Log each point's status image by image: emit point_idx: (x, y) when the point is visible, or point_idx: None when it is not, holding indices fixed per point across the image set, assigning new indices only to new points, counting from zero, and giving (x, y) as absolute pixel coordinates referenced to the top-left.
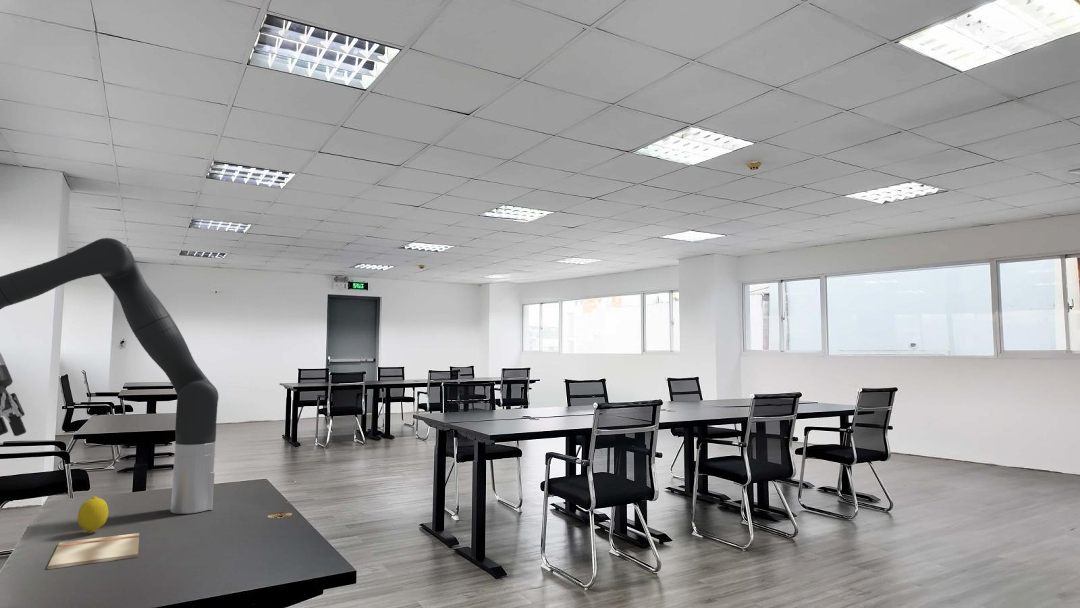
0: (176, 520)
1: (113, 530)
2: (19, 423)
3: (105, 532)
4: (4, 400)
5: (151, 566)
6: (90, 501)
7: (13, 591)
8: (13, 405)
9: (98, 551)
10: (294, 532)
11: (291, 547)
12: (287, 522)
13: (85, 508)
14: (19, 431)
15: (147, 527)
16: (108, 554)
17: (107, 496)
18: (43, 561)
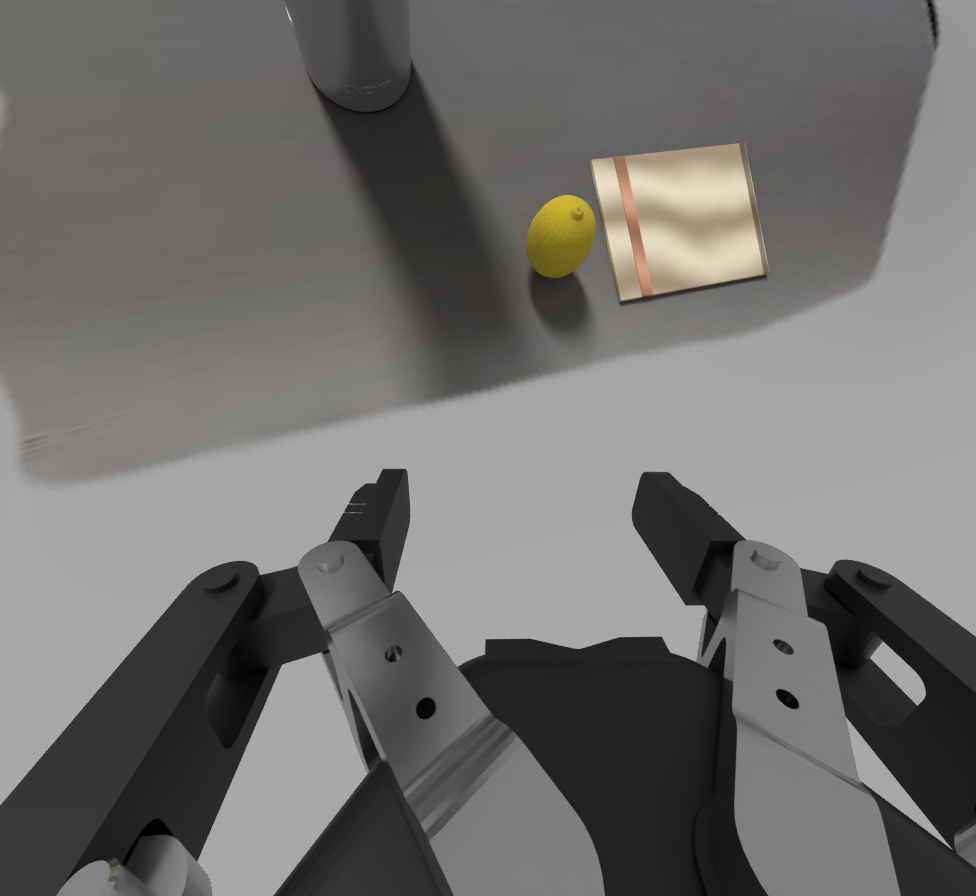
0: (474, 95)
1: None
2: (393, 520)
3: None
4: (737, 708)
5: (794, 119)
6: (589, 222)
7: (846, 288)
8: (436, 652)
9: (704, 213)
10: None
11: None
12: None
13: (593, 239)
14: (406, 501)
15: (526, 154)
16: (727, 192)
17: (34, 334)
18: (720, 295)
